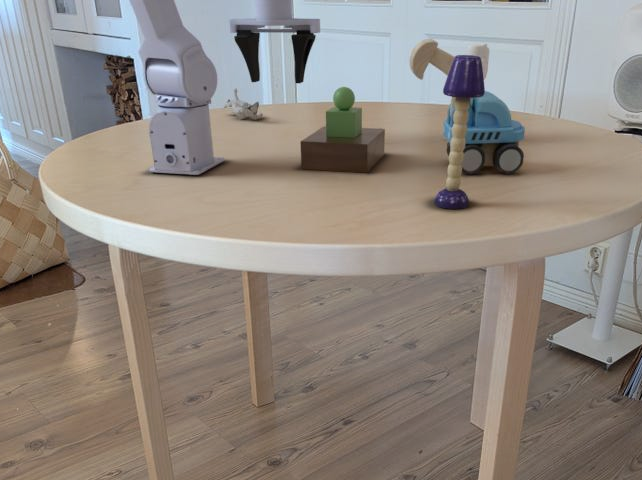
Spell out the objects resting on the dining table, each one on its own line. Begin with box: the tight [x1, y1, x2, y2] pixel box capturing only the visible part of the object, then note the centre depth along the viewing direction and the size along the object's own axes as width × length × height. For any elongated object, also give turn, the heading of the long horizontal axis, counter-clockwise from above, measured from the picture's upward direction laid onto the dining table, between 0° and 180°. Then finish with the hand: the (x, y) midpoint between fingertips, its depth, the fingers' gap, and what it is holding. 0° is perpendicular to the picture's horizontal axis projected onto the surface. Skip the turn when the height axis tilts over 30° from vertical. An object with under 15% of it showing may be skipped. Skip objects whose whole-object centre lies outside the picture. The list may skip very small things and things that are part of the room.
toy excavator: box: [409, 38, 526, 175], centre depth 93 cm, size 9×17×17 cm, turn 91°
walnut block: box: [300, 125, 386, 174], centre depth 100 cm, size 12×10×4 cm
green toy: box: [325, 86, 363, 138], centre depth 98 cm, size 4×4×7 cm
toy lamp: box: [433, 54, 486, 210], centre depth 77 cm, size 5×5×17 cm
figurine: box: [467, 43, 490, 80], centre depth 112 cm, size 7×9×15 cm
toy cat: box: [223, 87, 264, 121], centre depth 134 cm, size 8×5×12 cm
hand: (277, 82), depth 108 cm, fingers open, 7 cm apart
